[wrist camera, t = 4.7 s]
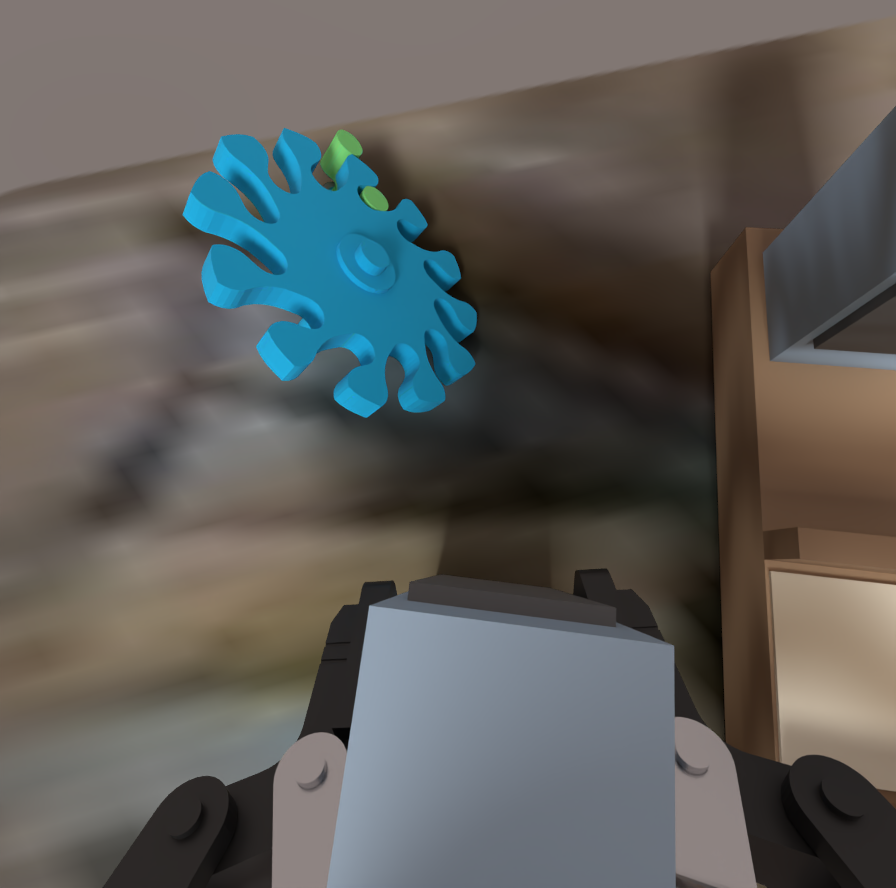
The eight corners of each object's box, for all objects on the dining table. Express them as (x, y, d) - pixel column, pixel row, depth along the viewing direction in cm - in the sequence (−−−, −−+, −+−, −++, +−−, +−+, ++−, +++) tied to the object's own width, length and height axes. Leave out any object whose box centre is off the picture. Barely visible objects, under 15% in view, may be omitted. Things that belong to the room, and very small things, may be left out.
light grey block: (419, 709, 15) (313, 974, 5) (435, 572, 16) (372, 582, 6) (544, 727, 15) (676, 1047, 5) (552, 587, 16) (674, 620, 6)
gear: (507, 432, 15) (168, 327, 9) (404, 484, 19) (121, 436, 13) (471, 200, 20) (225, 23, 14) (393, 282, 24) (176, 174, 18)
